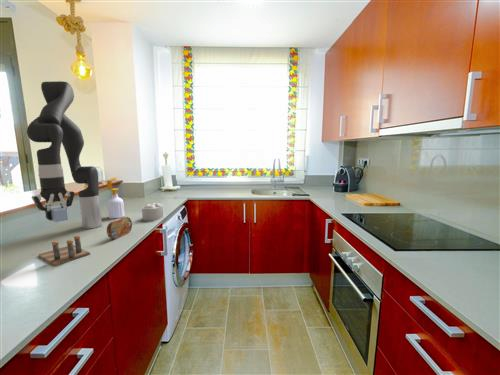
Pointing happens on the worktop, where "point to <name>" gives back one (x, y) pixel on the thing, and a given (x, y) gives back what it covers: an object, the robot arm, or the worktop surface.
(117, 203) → the soap bottle
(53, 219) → the rectangular block
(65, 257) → the board
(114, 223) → the tin
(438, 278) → the worktop surface
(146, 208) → the lumpy-topped squat cylinder
